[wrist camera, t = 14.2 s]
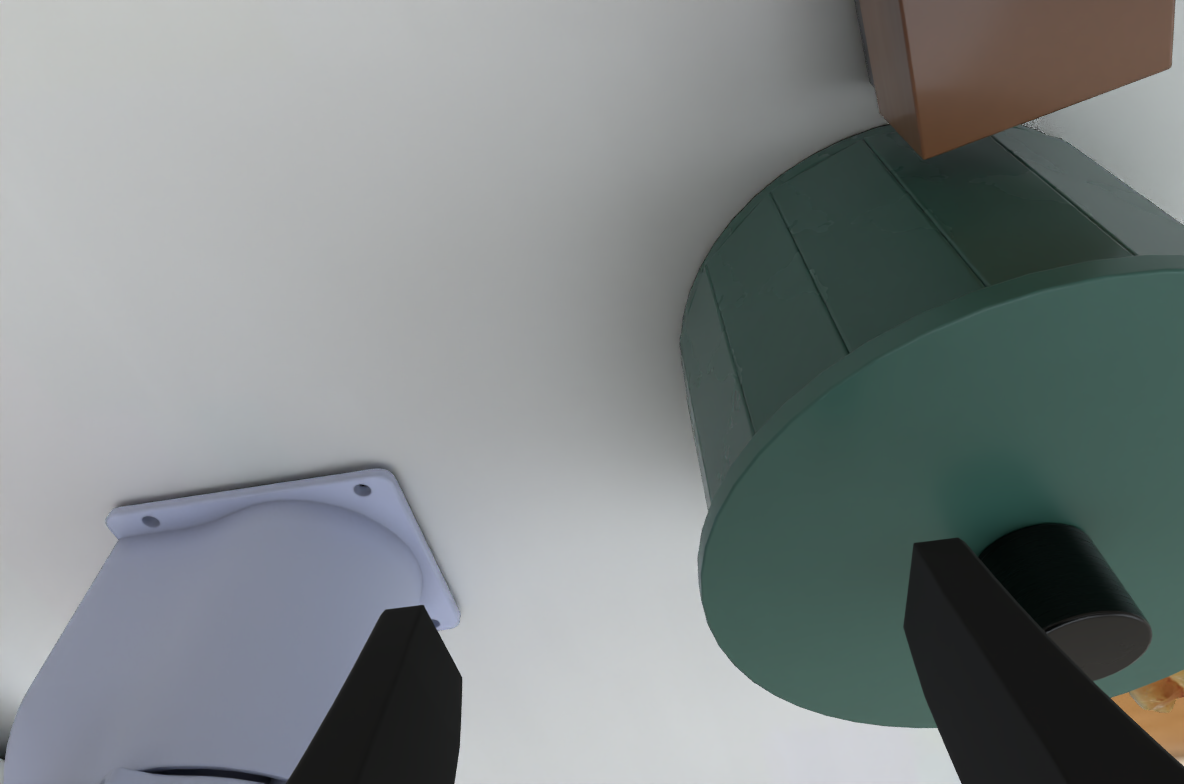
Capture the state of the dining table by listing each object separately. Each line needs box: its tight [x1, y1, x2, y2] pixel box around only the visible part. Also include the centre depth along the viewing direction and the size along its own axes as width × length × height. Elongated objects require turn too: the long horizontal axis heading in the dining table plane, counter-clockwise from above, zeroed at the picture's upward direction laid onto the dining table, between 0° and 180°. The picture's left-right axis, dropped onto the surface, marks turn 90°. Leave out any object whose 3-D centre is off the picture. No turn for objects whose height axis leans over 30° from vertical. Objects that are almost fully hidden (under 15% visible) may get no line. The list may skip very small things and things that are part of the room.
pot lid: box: [698, 255, 1184, 728], centre depth 14 cm, size 13×13×3 cm
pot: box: [680, 125, 1184, 511], centre depth 18 cm, size 12×12×8 cm
